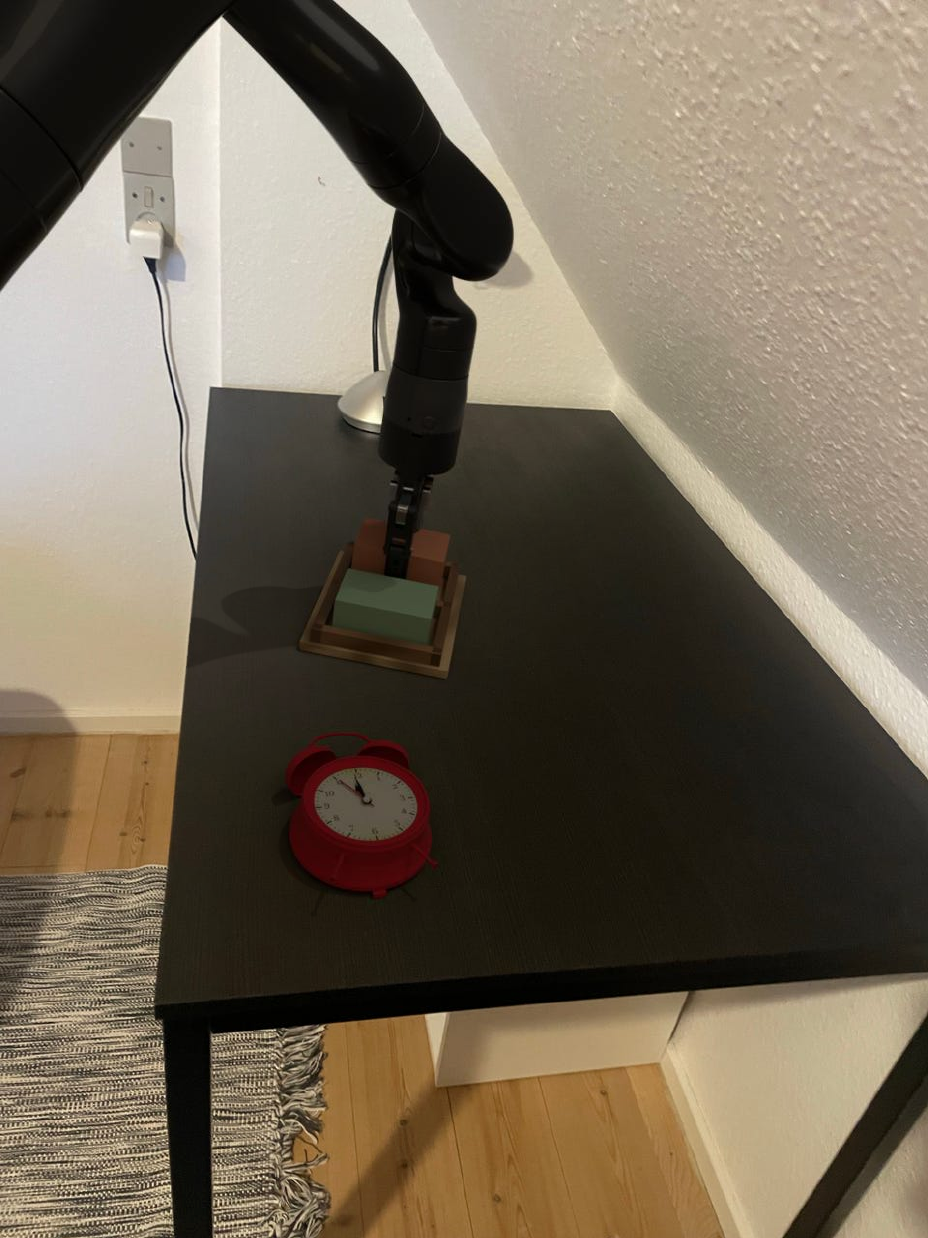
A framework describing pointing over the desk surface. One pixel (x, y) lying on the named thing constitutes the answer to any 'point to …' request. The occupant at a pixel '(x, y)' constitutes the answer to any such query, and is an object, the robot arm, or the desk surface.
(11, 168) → the robot arm
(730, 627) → the desk surface
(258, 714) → the desk surface
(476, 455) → the desk surface
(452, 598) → the divided wooden tray
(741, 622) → the desk surface
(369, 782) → the alarm clock
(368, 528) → the pad terracotta
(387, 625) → the pad sage
